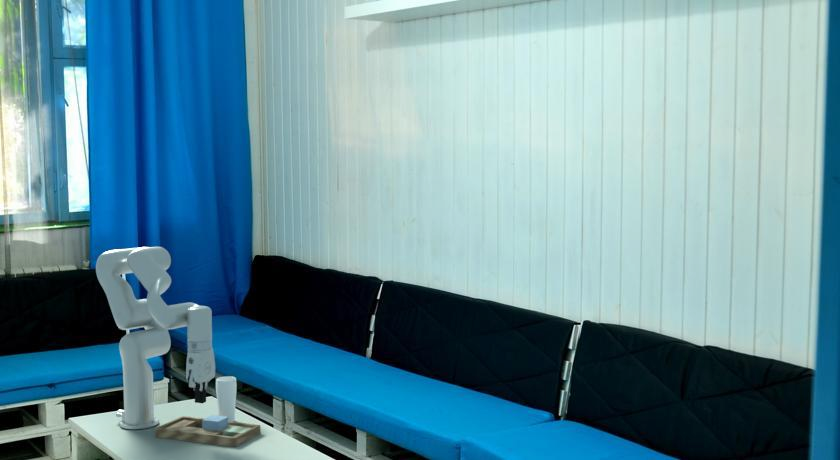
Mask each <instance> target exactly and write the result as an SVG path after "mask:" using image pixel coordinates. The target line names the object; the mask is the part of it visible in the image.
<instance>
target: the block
mask: <svg viewBox="0 0 840 460" xmlns="http://www.w3.org/2000/svg"><path fill="white" fill-rule="evenodd" d="M227 426H228V417H225V416H219V415H215V414H212V415H210V416H207V417H205V418H204V419H203V420H202V429H206V430H215V431H219V430H221V429H223V428H225V427H227Z"/></svg>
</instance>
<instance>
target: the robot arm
mask: <svg viewBox="0 0 840 460" xmlns="http://www.w3.org/2000/svg"><path fill="white" fill-rule="evenodd" d="M171 263H172V259H171V255H170V253H169V251H168V250H167V249H166V248H164V247H163V246H151V247H150V246H142V247H131V248H121V249H120V248H119V249H111V250H108V251H105V252H103V253H101V254H100V255H99V256H98V258H97V260H96V264H95V273H96V277H97V280H98V282H99V284H100V286H101V288H102V289H103V291H104V293H105V296H106V298H107V301H108V305H109V307H110V310H111V313H112V316H113V319H114V322H115V324H116V326H117V327H118V329H119V330H122V331H127V330H134V329H135V330H136V329H140V328H144V329H142V330H138V331H132V332H129V333H127V334H125V335H124V336H123V337H121V339H120V341H119V345H118V348H119V349H118V350H119V354H120V358H121V363H122V380H123V382H122V383H123V409H118V410H117V413H116V414H115V416H116V417H117V418H121V421H120V422H119V427H121V428H122V429H126V430H143V429H144V430H145V429H149V428H153V427H156V426H157V425H158V424H159V423H160V420H159V418H158V417H157V416H155V405H154V399H155V398H154V373H153V369H152V367H151V364H150V363H149V362H148V359H151V358H155V357H159V356H163V355H166V354H168V352H169V351H170V348H171V345H172V344H171V343H172V342H171V341H172V340H171V336H170V333H169V330H175V329H180V328H185V327H186V328H187V336H186V337H187V354H186V355H187V356H186V364H185V365H186V366H185V367H186V368H185V377H186V382H188V387H189V388H191V389H192V388H193V392H194V403H195V404H197V403H198V404H204V403H207V389H208V384H209V382H210V381H211V380H212V379H214V378H215V377H216V361H215V360H216V358H215V354H214V353H215V352H214V348H213V324H212V323H213V320H212V319H213V317H212V316H213V313H212V312H213V311H212V309H211V308H210V307H209V306H206V305H199V304H198V303H194V302H189V301H188V302H182V303H177V304H176V303H175V304H169V305H168V304H167V303H166V302H165V301H164V299H163V298H162V297H161V295H162V294H164V293H165V292H166V291H167V290H168V289H169V288H170V286H171V284H172V278H171V275H169V273H168V272H167V270H168V269H169V268H170V266H171ZM124 274H134V276H135V277H136V278H137V280H138V281H139V282H140V283H141V285H142V286H143V288H144V289H145V290H146V291H147V296H146V298H142V299H141V298H140V299H137V298H136V296H135V294H134V291H133V288H132V286H131V285H130V284H129V282H128V281H127V280H126V279H125V278H123V277H122V276H121V275H124Z"/></svg>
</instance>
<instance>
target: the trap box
mask: <svg viewBox="0 0 840 460" xmlns="http://www.w3.org/2000/svg"><path fill="white" fill-rule="evenodd" d="M203 419H205V418H203V417H195V416H187V415H182V416H180V417H178V418H175V419H173V420H170V421H169V422H166V423H164V424H162V425H160V426H157V427H155V428H154V434H155V436H154V437H155V438H160V439H161V438H162V439H170V440H177V441H178V440H179V441H186V442H193V443H203V444H208V445H210V444H211V445H215V446H216V445H218V446H223V447H224V446H225V447H233V448H237V447H238V446H241V445H242V444H244V443H246V442H248V441H249V440H251V439H253V438H255V437H257V436H259V435H261V425H260V424H255V423H247V422H237V421H234V422H230V421H228V426H227V427H225V428H223V429H221V430H219V431H215V430H206V429H202V420H203Z"/></svg>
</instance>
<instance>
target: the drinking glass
mask: <svg viewBox="0 0 840 460" xmlns="http://www.w3.org/2000/svg"><path fill="white" fill-rule="evenodd" d="M215 391H216V393H215V394H216V400H217V401H216V404H217V410H218V416H225V417H228V421H230V422H236V403H237V378H236V377H235V376H230V375H229V376H228V375H226V376H219V377H217V378H216V381H215Z"/></svg>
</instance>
